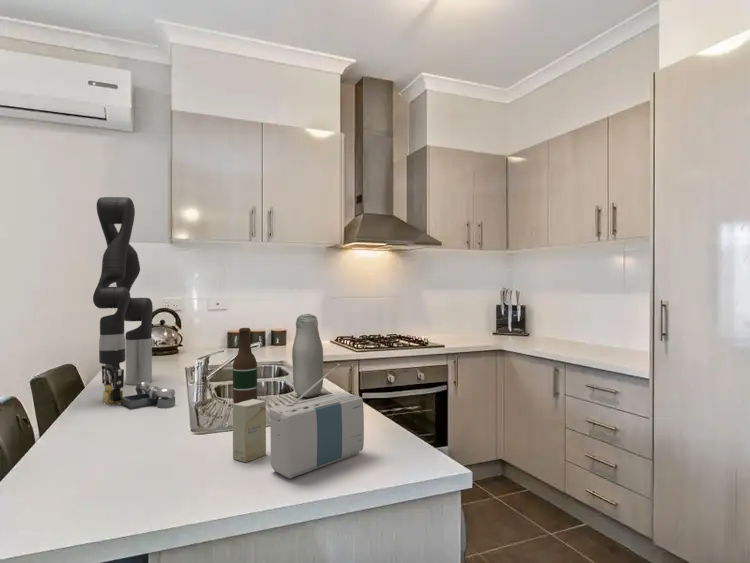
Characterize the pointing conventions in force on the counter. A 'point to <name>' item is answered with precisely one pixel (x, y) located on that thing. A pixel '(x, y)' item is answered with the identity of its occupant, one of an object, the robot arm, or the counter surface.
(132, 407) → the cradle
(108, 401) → the gold square-based knob
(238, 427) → the skincare box
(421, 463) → the counter surface
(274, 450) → the stereo radio cassette player
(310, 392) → the grey bottle
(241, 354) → the beer bottle
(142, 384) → the shaft left
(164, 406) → the shaft right
